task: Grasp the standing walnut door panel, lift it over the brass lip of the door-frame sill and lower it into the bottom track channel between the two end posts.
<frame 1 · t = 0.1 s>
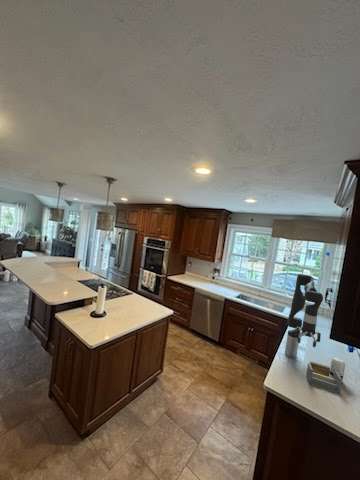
hand: (306, 344, 141), 29 cm above the worktop, fingers open, 8 cm apart
supplement can: (335, 379, 156), on the worktop
door panel: (318, 376, 157), on the worktop
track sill: (321, 384, 148), on the worktop
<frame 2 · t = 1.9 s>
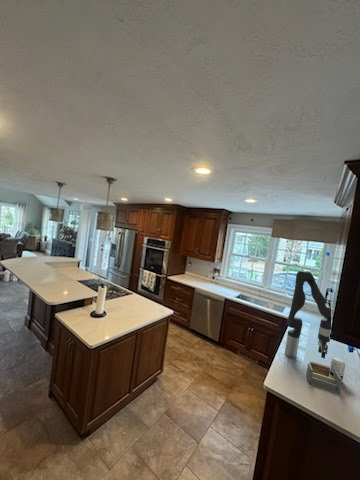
hand: (321, 355, 157), 16 cm above the worktop, fingers open, 8 cm apart
nothing on the worktop moved.
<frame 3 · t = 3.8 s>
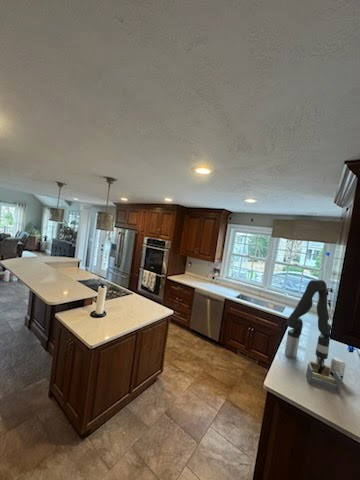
hand: (318, 372, 157), 3 cm above the worktop, fingers closed on door panel, 2 cm apart
door panel: (318, 376, 157), on the worktop, touching gripper
everything else where it was.
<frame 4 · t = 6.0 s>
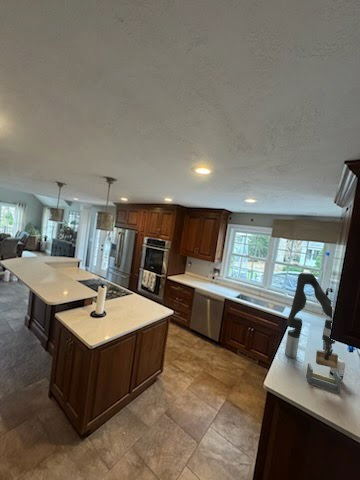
hand: (325, 358, 148), 18 cm above the worktop, fingers closed on door panel, 2 cm apart
door panel: (326, 365, 147), point 14 cm above the worktop, touching gripper
everything else where it was.
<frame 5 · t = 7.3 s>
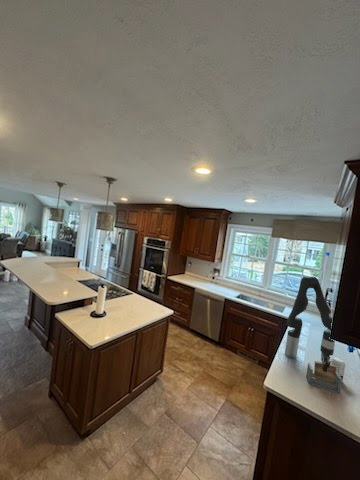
hand: (323, 370, 148), 10 cm above the worktop, fingers closed on door panel, 2 cm apart
door panel: (324, 376, 148), point 6 cm above the worktop, touching gripper
everything else where it was.
when the fingers open (6 cm above the worktop, at t = 8.5 s): door panel stays where it is, resting on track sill.
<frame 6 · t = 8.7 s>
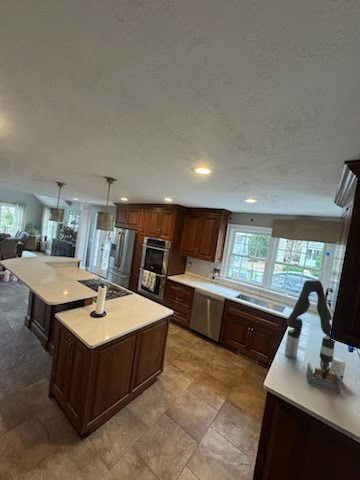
hand: (323, 376, 148), 6 cm above the worktop, fingers open, 4 cm apart
door panel: (323, 383, 148), point 1 cm above the worktop, touching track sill
everything else where it was.
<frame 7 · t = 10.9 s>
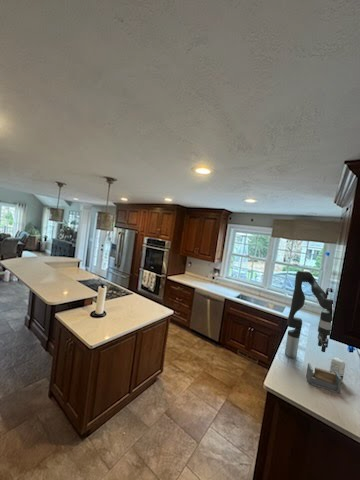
hand: (321, 348, 150), 24 cm above the worktop, fingers open, 8 cm apart
nothing on the worktop moved.
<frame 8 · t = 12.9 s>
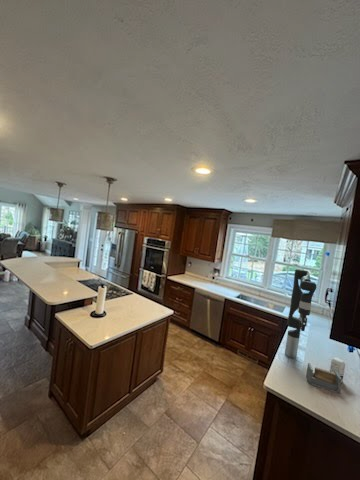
hand: (301, 328, 159), 33 cm above the worktop, fingers open, 8 cm apart
nothing on the worktop moved.
at the end: door panel 0.9 cm off-centre on the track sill, point 1.0 cm above the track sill's base; door panel tilted 0°; the gripper is holding nothing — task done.
